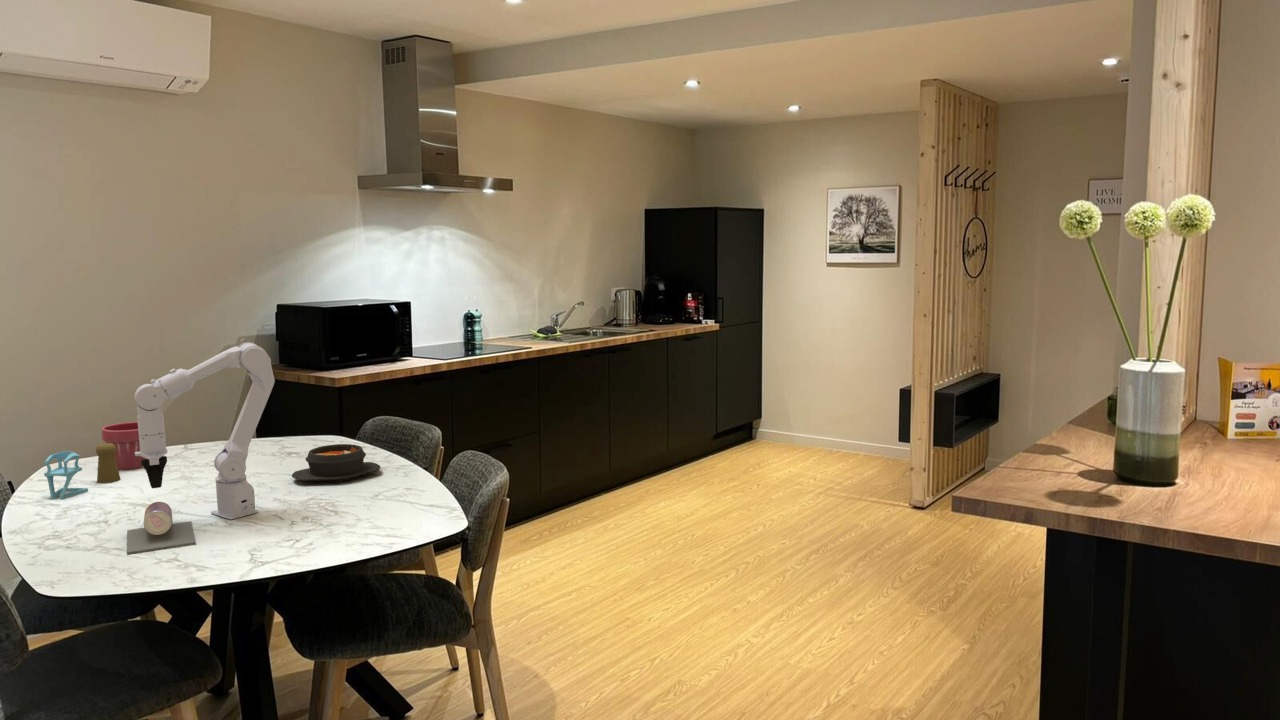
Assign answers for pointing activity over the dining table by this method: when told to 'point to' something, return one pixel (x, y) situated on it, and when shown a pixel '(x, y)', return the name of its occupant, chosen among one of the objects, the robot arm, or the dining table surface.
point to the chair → (63, 474)
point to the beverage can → (158, 518)
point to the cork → (107, 463)
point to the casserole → (335, 464)
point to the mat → (160, 538)
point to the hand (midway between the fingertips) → (156, 487)
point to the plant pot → (124, 444)
